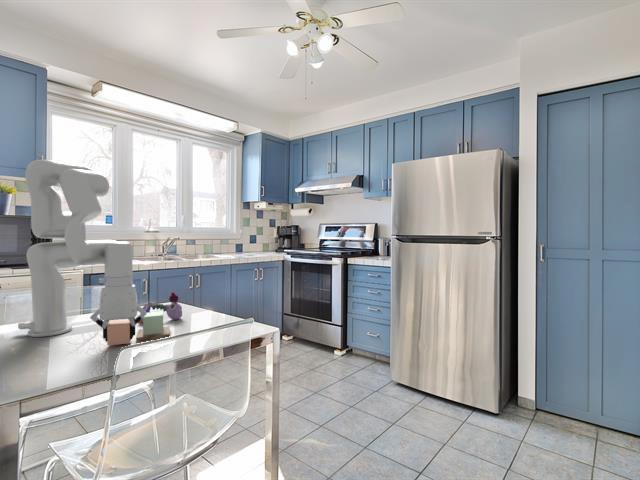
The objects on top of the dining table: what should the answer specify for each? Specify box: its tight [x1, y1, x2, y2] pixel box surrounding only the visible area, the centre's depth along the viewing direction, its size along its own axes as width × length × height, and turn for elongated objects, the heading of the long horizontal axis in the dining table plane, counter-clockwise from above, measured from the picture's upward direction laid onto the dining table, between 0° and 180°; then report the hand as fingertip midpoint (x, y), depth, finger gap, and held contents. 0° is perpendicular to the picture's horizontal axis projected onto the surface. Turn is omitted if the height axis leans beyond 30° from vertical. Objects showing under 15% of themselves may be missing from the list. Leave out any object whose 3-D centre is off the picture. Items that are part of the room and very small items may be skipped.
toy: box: [137, 292, 183, 326], centre depth 144 cm, size 10×15×15 cm
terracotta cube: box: [107, 319, 132, 346], centre depth 114 cm, size 6×6×6 cm
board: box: [135, 326, 171, 343], centre depth 123 cm, size 10×10×2 cm
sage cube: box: [142, 310, 164, 335], centre depth 123 cm, size 6×6×6 cm
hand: (119, 338), depth 114 cm, fingers closed on terracotta cube, 6 cm apart
